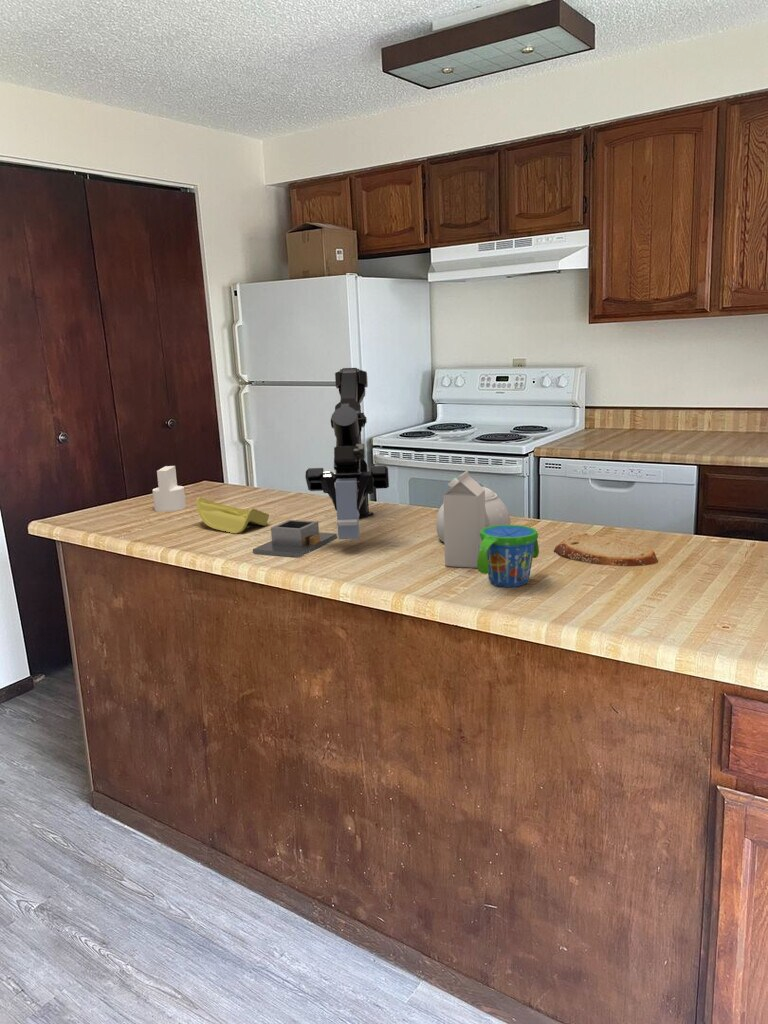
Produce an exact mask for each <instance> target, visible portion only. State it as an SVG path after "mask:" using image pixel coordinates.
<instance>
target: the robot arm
mask: <svg viewBox="0 0 768 1024" xmlns="http://www.w3.org/2000/svg"><path fill="white" fill-rule="evenodd" d="M334 376H335V377H334V378H335V382H334V383H335V388H336V389H338V394H339V396H340V401H339V402H338V403H336V405H335V407H334V411H333V413H332V414H331V417H330V426H331V429H333V431H334V436H335V438H336V439H335V446H334V448H333V452H334V453H333V455H334V456H333V457H334V458H333V470H334V471H335V472H332V471H324V470H325V469H324V468H323V467H311V468H310V467H309V468H307V469H306V470H305V481H306V485H307V489H308V491H309V492H322V493H323V494H328V496H329V498H330V499H331V502H332V505H333V508H334V510H335V511H336V512H337V505H336V488H335V482H336V480H337V479H343V478H357V492H358V497H357V510H358V512H359V519H362V518H365V517H369V516H371V515H374V512H373V511H370V510H369V509H370V507H369V495H372V494H374V493H375V490H376V489H377V490H378V489H388V488H389V487H390V480H389V479H390V477H389V468H388V466H386V465H371V466H370V471H369V467H368V463H367V462H366V460H365V459H366V452H365V451H366V450H365V443H362V431H363V430H362V429H363V428H365V427H366V424H367V422H368V421H367V417H366V416H365V413H364V412H362V406H361V405H362V404H361V403H363V402H362V401H363V400H364V399H365V396H366V388H368V386H369V385H368V373H367V370H363V369H360V368H357V367H343V368H342V369H339V370H338V371H337V372H334Z"/></svg>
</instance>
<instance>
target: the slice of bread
mask: <svg viewBox="0 0 768 1024" xmlns="http://www.w3.org/2000/svg"><path fill="white" fill-rule="evenodd" d="M555 552H556V553H555ZM553 553H555V554H558V555H560V557H562V558H565V559H568V560H570V561H575V562H581V563H585V564H593V565H594V564H595V565H603V566H613V567H614V566H615V567H641V566H643V567H644V566H649V565H654V564H657V563H659V560H658V557H657V556H656V553H655V551H654V550H653V548H651V547H648V546H645V545H642V544H638V543H637V544H636V543H633V542H630V541H626V540H620V539H616V538H615V539H614V538H609V537H606V536H604V537H603V536H598V535H594V534H590V533H589V534H588V533H587V532H585V533H582V534H577V535H574V536H571V537H569V538H567V539H564V540H563V541H561V542H560V543H559V544H557V545H556V546H555V547H554V550H553Z"/></svg>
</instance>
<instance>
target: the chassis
mask: <svg viewBox="0 0 768 1024" xmlns="http://www.w3.org/2000/svg"><path fill="white" fill-rule="evenodd" d="M270 535H271V537H270V538H271V540H270V541H268V542H265V543H264V544H261V545H259V546H256V547H255V548H252V554H253V553H256V554H255V555H264V554H266V555H265V556H275V555H280V556H279V557H286V556H294V557H293V558H298V557H299V558H301V557H302V555H303V556H305V555H307V554H309V553H310V552H312V551H314V550H316V549H318V548H320V547H321V546H324V545H326V544H327V543H330V542H332V541H334V540H335V539H337V538H338V533H335V532H334V533H333V532H320V529H319V521H314V520H313V521H312V520H311V521H310V520H300V519H299V520H295V519H288V520H285V521H283V522H281V523H278V524H276V525H274V526H271V527H270ZM309 551H310V552H309ZM306 553H307V554H306ZM304 554H305V555H304ZM300 556H301V557H300Z"/></svg>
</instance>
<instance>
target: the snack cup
mask: <svg viewBox="0 0 768 1024" xmlns="http://www.w3.org/2000/svg"><path fill="white" fill-rule="evenodd" d="M480 537H481V539H482V543H481V546H480V549H479V555H478V561H477V568H476V569H477V571H478V572H480V573H481V574H483V575H488V580H489V581H490V583H492V584H493V585H495V586H497V587H503V588H512V587H516V588H517V587H520V586H523V585H525V584H527V583H529V582H530V581H529V580H530V576H531V569H532V566H533V559H536V558H538V557H539V554H540V547H539V546H540V545H539V541H538V538H539V533H538V531H537V529H535V528H533V527H530V526H526V525H520V524H518V525H517V524H510V525H497V526H490V527H486V528H484V529H482V530H481V532H480Z"/></svg>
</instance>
